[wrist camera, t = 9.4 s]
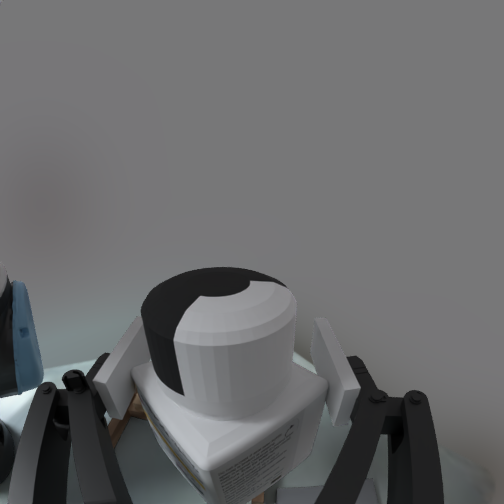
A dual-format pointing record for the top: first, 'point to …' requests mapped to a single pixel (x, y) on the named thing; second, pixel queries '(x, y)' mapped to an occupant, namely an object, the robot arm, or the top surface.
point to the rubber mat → (303, 498)
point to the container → (227, 381)
